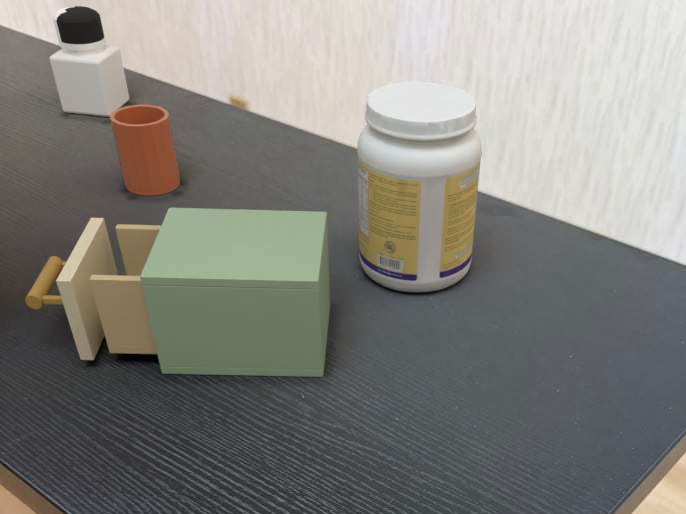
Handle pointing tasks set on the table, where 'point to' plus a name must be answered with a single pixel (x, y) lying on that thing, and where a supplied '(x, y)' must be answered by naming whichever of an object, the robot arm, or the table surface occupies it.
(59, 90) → the medicine bottle
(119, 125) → the cup
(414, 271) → the supplement tub
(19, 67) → the table surface
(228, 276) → the cabinet
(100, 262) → the drawer
